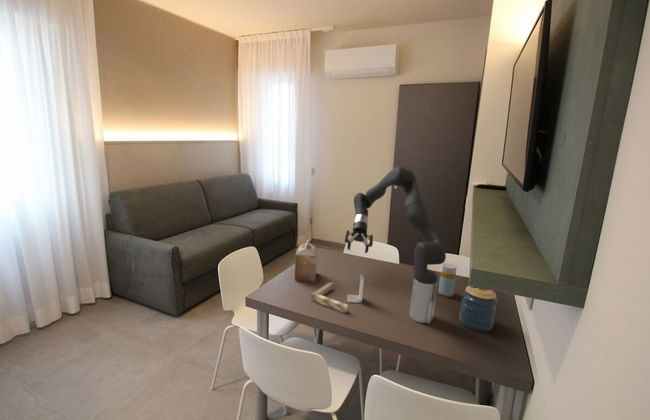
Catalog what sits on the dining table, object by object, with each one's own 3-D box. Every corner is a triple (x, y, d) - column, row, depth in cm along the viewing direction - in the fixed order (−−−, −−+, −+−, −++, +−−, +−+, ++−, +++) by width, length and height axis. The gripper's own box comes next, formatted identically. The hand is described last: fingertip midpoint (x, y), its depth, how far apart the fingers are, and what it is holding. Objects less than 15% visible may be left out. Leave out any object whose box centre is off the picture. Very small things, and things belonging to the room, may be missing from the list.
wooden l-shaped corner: (362, 298, 145) (362, 292, 145) (345, 313, 132) (345, 306, 131) (329, 287, 155) (329, 281, 154) (310, 300, 142) (311, 294, 141)
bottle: (437, 295, 152) (441, 266, 149) (439, 289, 158) (443, 262, 155) (452, 299, 149) (456, 269, 146) (454, 293, 155) (458, 265, 152)
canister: (497, 334, 122) (505, 293, 119) (462, 329, 125) (468, 288, 121) (487, 317, 135) (494, 279, 131) (455, 312, 137) (461, 275, 133)
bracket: (361, 297, 146) (363, 273, 144) (361, 303, 141) (363, 278, 139) (347, 296, 146) (348, 273, 144) (347, 302, 141) (349, 277, 139)
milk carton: (315, 281, 161) (316, 246, 157) (294, 280, 161) (295, 245, 157) (316, 273, 171) (317, 240, 167) (296, 271, 171) (297, 238, 167)
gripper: (348, 218, 164) (344, 244, 154) (375, 223, 163) (373, 250, 154) (346, 226, 170) (342, 252, 160) (372, 230, 170) (369, 257, 160)
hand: (357, 251), depth 157 cm, fingers open, 8 cm apart
